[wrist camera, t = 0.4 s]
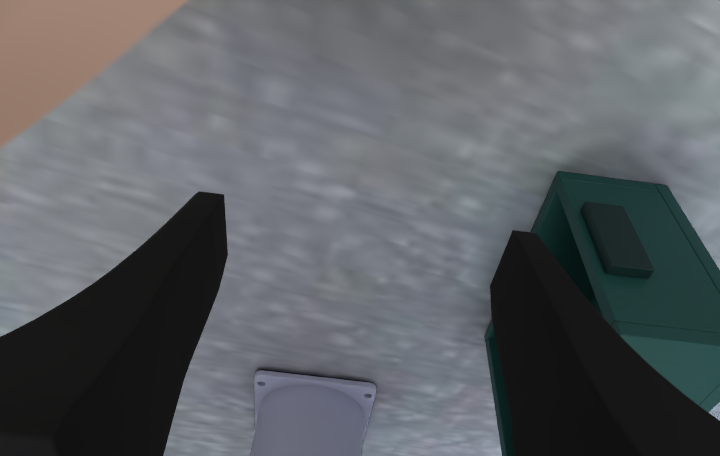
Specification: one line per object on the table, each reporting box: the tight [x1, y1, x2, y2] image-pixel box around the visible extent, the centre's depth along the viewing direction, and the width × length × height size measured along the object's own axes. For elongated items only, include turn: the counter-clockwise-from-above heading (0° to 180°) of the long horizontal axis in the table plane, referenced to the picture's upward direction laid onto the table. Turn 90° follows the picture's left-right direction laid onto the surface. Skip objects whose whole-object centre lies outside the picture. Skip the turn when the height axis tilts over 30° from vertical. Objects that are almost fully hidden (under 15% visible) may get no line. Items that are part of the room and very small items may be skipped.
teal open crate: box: [485, 171, 720, 456], centre depth 25 cm, size 13×5×9 cm, turn 173°
